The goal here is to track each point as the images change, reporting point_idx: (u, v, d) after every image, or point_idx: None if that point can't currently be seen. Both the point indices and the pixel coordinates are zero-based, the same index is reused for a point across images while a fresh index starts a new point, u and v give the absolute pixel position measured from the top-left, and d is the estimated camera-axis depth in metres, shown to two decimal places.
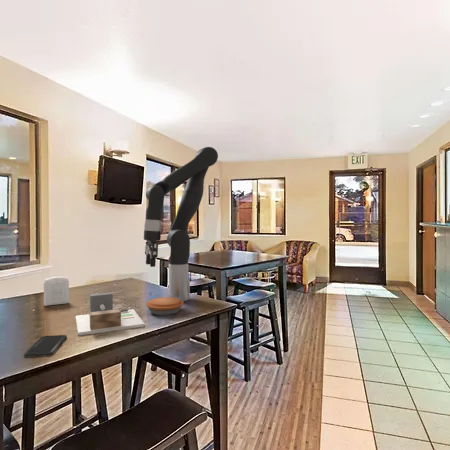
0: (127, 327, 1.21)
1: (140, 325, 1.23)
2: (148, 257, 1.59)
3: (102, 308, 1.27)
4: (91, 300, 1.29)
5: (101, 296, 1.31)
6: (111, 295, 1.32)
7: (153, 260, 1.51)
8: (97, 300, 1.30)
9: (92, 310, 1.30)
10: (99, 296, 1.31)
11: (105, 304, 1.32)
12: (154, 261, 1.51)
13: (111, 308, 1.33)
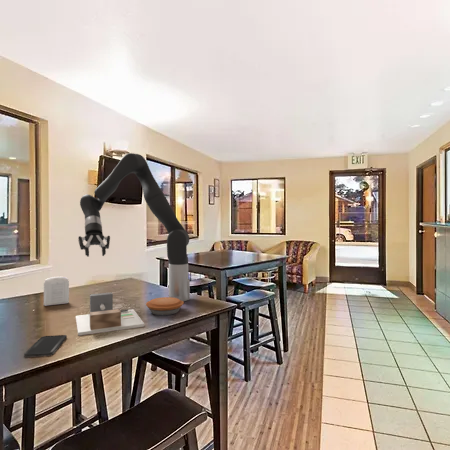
0: (127, 327, 1.21)
1: (140, 325, 1.23)
2: (102, 249, 1.55)
3: (102, 308, 1.27)
4: (91, 300, 1.29)
5: (101, 296, 1.31)
6: (111, 295, 1.32)
7: None
8: (97, 300, 1.30)
9: (92, 310, 1.30)
10: (99, 296, 1.31)
11: (105, 304, 1.32)
12: (85, 250, 1.51)
13: (111, 308, 1.33)
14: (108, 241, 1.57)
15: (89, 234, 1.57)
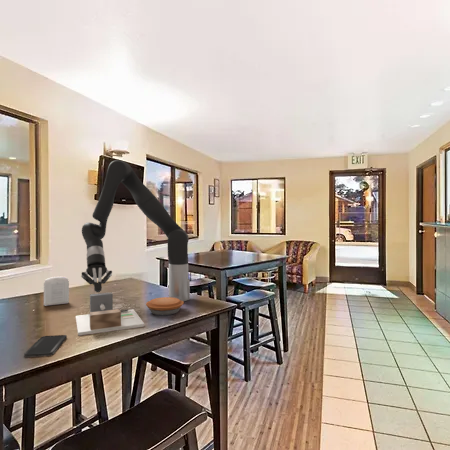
0: (127, 327, 1.21)
1: (140, 325, 1.23)
2: None
3: (102, 308, 1.27)
4: (91, 300, 1.29)
5: (101, 296, 1.31)
6: (111, 295, 1.32)
7: None
8: (97, 300, 1.30)
9: (92, 310, 1.30)
10: (99, 296, 1.31)
11: (105, 304, 1.32)
12: (94, 286, 1.42)
13: (111, 308, 1.33)
14: (106, 276, 1.47)
15: (91, 266, 1.48)
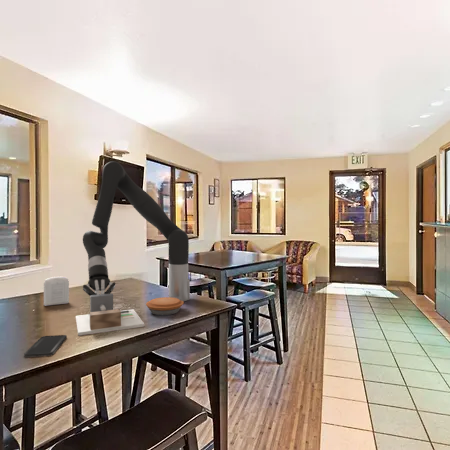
0: (127, 327, 1.21)
1: (140, 325, 1.23)
2: None
3: (102, 309, 1.26)
4: (91, 301, 1.28)
5: (101, 297, 1.29)
6: (112, 296, 1.31)
7: None
8: (98, 301, 1.29)
9: (92, 311, 1.28)
10: (99, 297, 1.29)
11: (106, 305, 1.30)
12: None
13: (112, 309, 1.31)
14: (110, 288, 1.37)
15: (93, 278, 1.38)
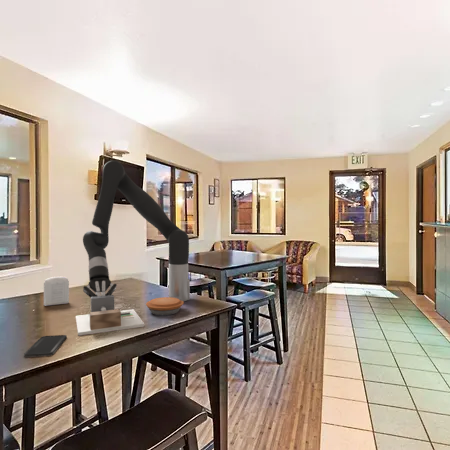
0: (127, 327, 1.21)
1: (140, 325, 1.23)
2: None
3: None
4: (92, 303, 1.25)
5: (102, 299, 1.27)
6: (113, 298, 1.28)
7: None
8: (99, 303, 1.26)
9: None
10: (100, 299, 1.26)
11: (106, 307, 1.27)
12: None
13: None
14: (111, 290, 1.35)
15: (94, 280, 1.36)
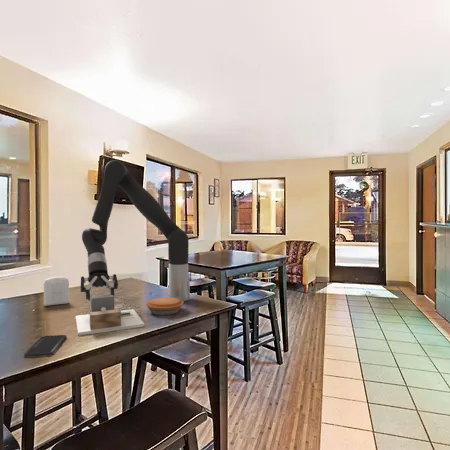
0: (127, 327, 1.21)
1: (140, 325, 1.23)
2: (110, 290, 1.39)
3: None
4: (92, 303, 1.25)
5: (102, 299, 1.27)
6: (113, 298, 1.28)
7: None
8: (99, 303, 1.26)
9: None
10: (100, 299, 1.26)
11: (106, 307, 1.27)
12: (86, 293, 1.34)
13: None
14: (116, 281, 1.42)
15: (93, 275, 1.41)
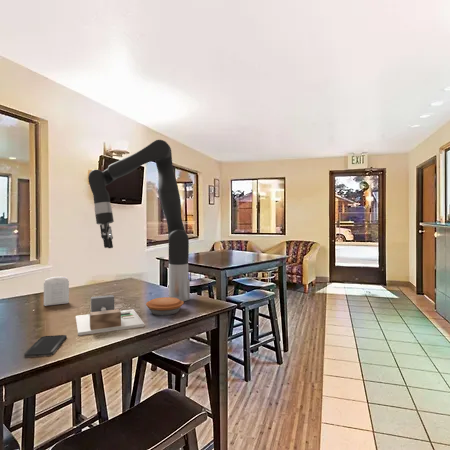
0: (127, 327, 1.21)
1: (140, 325, 1.23)
2: (109, 241, 1.60)
3: None
4: (92, 303, 1.25)
5: (102, 299, 1.27)
6: (113, 298, 1.28)
7: (105, 241, 1.52)
8: (99, 303, 1.26)
9: None
10: (100, 299, 1.26)
11: (106, 307, 1.27)
12: (106, 242, 1.51)
13: None
14: None
15: (107, 224, 1.55)
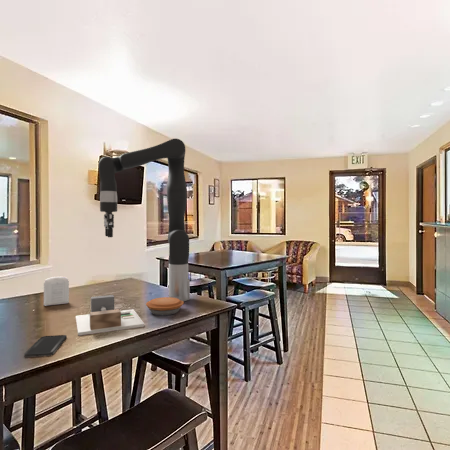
0: (127, 327, 1.21)
1: (140, 325, 1.23)
2: None
3: None
4: (92, 303, 1.25)
5: (102, 299, 1.27)
6: (113, 298, 1.28)
7: (110, 231, 1.53)
8: (99, 303, 1.26)
9: None
10: (100, 299, 1.26)
11: (106, 307, 1.27)
12: (111, 231, 1.53)
13: None
14: None
15: None
